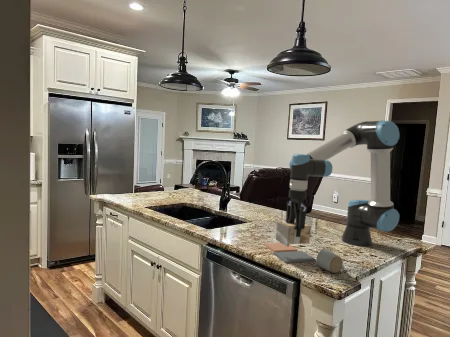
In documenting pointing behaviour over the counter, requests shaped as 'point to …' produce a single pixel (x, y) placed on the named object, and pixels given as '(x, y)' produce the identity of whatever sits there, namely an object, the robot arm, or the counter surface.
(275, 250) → the terracotta tile
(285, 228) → the tan rectangular block
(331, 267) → the ceramic mug
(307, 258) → the slate mat
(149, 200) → the counter surface
